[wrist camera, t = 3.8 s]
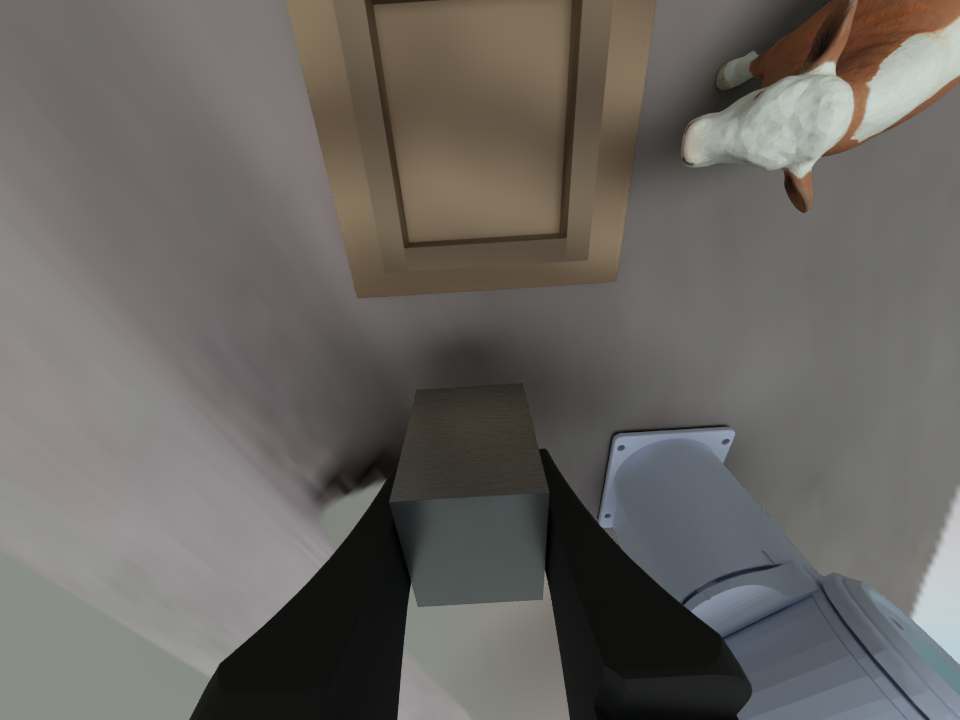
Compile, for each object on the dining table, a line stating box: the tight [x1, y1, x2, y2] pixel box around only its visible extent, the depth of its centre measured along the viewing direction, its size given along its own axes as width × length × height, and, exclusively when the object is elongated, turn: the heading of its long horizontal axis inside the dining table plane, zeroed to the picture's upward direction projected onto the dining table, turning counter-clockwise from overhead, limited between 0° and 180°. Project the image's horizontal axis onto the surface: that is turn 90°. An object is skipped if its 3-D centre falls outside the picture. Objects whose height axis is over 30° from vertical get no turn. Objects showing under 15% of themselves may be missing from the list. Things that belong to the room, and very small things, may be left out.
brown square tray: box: [286, 0, 656, 298], centre depth 14 cm, size 13×13×2 cm
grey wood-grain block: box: [389, 384, 549, 607], centre depth 12 cm, size 5×4×5 cm
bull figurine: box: [681, 0, 960, 213], centre depth 10 cm, size 4×13×8 cm, turn 128°
